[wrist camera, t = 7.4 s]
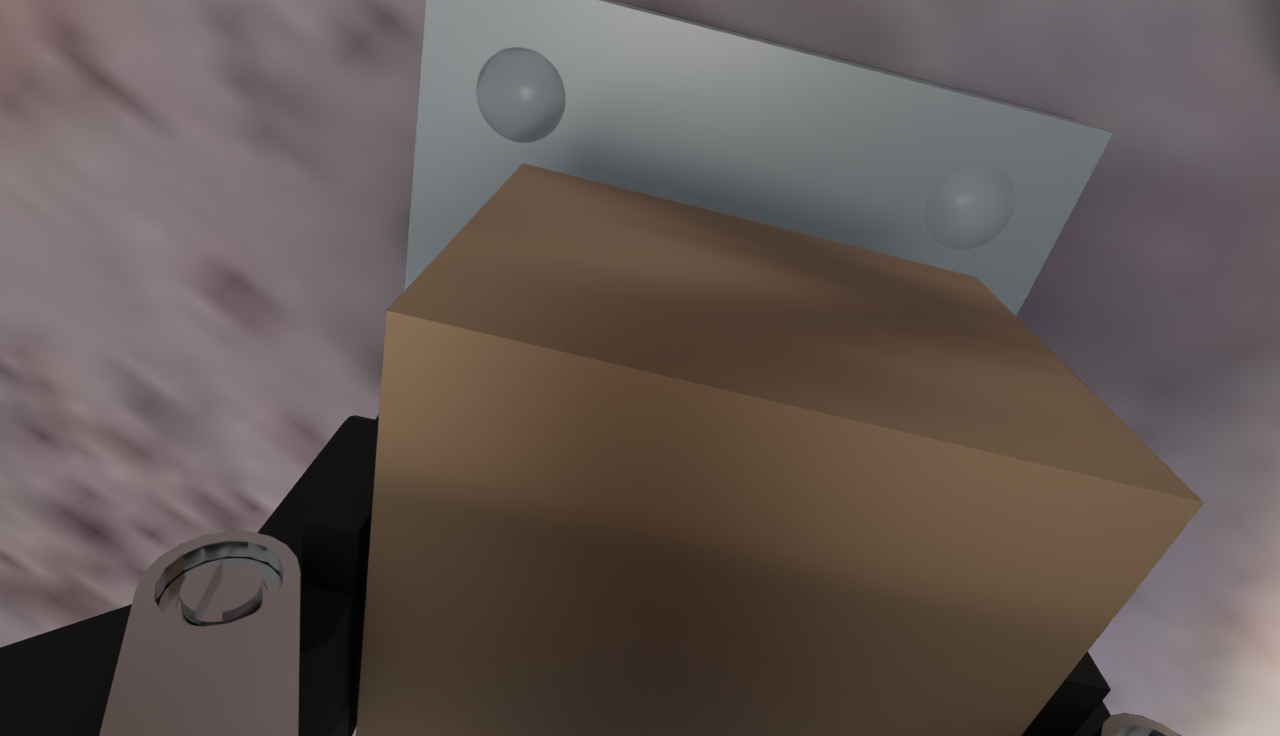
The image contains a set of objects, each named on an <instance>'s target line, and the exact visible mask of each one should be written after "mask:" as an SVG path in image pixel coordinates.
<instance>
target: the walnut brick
mask: <svg viewBox="0 0 1280 736" xmlns="http://www.w3.org/2000/svg"><path fill="white" fill-rule="evenodd" d="M1203 503H1204V502H1203V501H1202V500H1201V499H1200V498H1199V497H1198V496H1197V495H1196V494H1195V493H1194V492H1193V491H1191V490H1190V489H1189V488H1188V487H1187V486H1186V485H1185V484H1184V483H1183V482H1182V481H1181V480H1180V479H1179V478H1178V477H1177V476H1176V475H1175V474H1174V473H1173V472H1172V471H1171V470H1170V469H1169V468H1168V467H1167V466H1166V465H1165V464H1164V463H1163V462H1162V461H1161V460H1160V459H1159V458H1158V457H1157V456H1156V455H1155V454H1154V453H1153V452H1152V451H1151V450H1150V449H1149V448H1148V447H1147V446H1146V445H1145V444H1144V443H1143V442H1142V441H1141V440H1140V439H1139V438H1138V437H1137V436H1136V435H1135V434H1134V433H1133V432H1132V431H1131V430H1130V429H1129V428H1128V427H1127V426H1126V425H1125V424H1124V423H1123V422H1122V421H1121V420H1120V419H1119V418H1118V417H1117V416H1116V415H1115V414H1114V413H1113V412H1112V411H1111V410H1110V409H1109V408H1108V407H1107V406H1106V405H1105V404H1104V403H1103V402H1102V401H1101V400H1100V399H1099V398H1098V397H1097V396H1096V395H1095V394H1094V393H1093V392H1092V391H1091V390H1090V389H1089V388H1088V387H1087V386H1086V385H1085V384H1083V383H1082V382H1081V381H1080V380H1079V379H1078V378H1077V377H1076V376H1075V375H1074V374H1073V373H1072V372H1071V371H1070V370H1069V369H1068V368H1067V367H1066V366H1065V365H1064V364H1063V363H1062V362H1061V361H1060V360H1059V359H1058V358H1057V357H1056V356H1055V355H1054V354H1053V353H1052V352H1051V351H1050V350H1049V349H1048V348H1047V347H1046V346H1045V345H1044V344H1043V343H1042V342H1041V341H1040V340H1039V339H1038V338H1037V337H1036V336H1035V335H1034V334H1033V333H1032V332H1031V331H1030V330H1029V329H1028V328H1027V327H1026V326H1025V325H1024V324H1023V323H1022V322H1021V321H1020V320H1019V319H1018V318H1017V317H1016V316H1015V315H1014V314H1013V313H1012V312H1011V311H1010V310H1009V309H1008V308H1007V307H1006V306H1005V305H1004V304H1003V303H1002V302H1001V301H1000V300H999V299H998V298H997V297H996V296H995V295H994V294H993V293H992V292H991V291H990V290H989V289H988V288H987V287H986V286H985V285H984V284H983V283H982V282H981V281H980V280H979V279H978V278H976V277H974V276H970V275H966V274H962V273H958V272H954V271H950V270H946V269H942V268H938V267H934V266H930V265H926V264H922V263H918V262H914V261H910V260H906V259H902V258H898V257H894V256H890V255H886V254H882V253H878V252H874V251H870V250H866V249H862V248H858V247H854V246H850V245H846V244H842V243H838V242H834V241H830V240H826V239H822V238H818V237H814V236H811V235H807V234H803V233H799V232H795V231H791V230H787V229H783V228H779V227H775V226H771V225H767V224H763V223H759V222H755V221H751V220H747V219H743V218H739V217H735V216H731V215H727V214H723V213H719V212H715V211H711V210H707V209H703V208H699V207H695V206H691V205H687V204H683V203H679V202H675V201H671V200H667V199H663V198H659V197H655V196H651V195H647V194H643V193H639V192H635V191H631V190H627V189H623V188H619V187H615V186H611V185H607V184H603V183H599V182H595V181H591V180H587V179H583V178H579V177H575V176H571V175H567V174H563V173H559V172H555V171H551V170H548V169H544V168H540V167H536V166H532V165H528V164H524V163H522V165H521V166H520V167H519V168H518V169H517V170H516V171H515V172H514V173H513V174H512V175H511V176H510V178H509V179H508V180H507V181H506V182H505V183H504V184H503V185H502V186H501V187H500V188H499V189H498V191H497V192H496V193H495V194H494V195H493V196H492V197H491V198H490V199H489V200H488V201H487V202H486V203H485V205H484V206H483V207H482V208H481V209H480V210H479V211H478V212H477V213H476V214H475V215H474V216H473V218H472V219H471V220H470V221H469V222H468V223H467V224H466V225H465V226H464V227H463V228H462V229H461V231H460V232H459V233H458V234H457V235H456V236H455V237H454V238H453V239H452V240H451V241H450V242H449V243H448V245H447V246H446V247H445V248H444V249H443V250H442V251H441V252H440V253H439V254H438V255H437V256H436V258H435V259H434V260H433V261H432V262H431V263H430V264H429V265H428V266H427V267H426V268H425V269H424V271H423V272H422V273H421V274H420V275H419V276H418V277H417V278H416V279H415V280H414V281H413V282H412V283H411V285H410V286H409V287H408V288H407V289H406V290H405V291H404V292H403V293H402V294H401V295H400V296H399V298H398V299H397V300H396V301H395V302H394V303H393V304H392V305H391V306H390V307H389V308H388V309H387V312H386V326H385V340H384V354H383V368H382V382H381V395H380V409H379V423H378V437H377V451H376V465H375V479H374V493H373V506H372V520H371V534H370V548H369V562H368V576H367V590H366V604H365V617H364V631H363V645H362V659H361V673H360V687H359V701H358V715H357V728H356V736H1021V735H1022V734H1023V733H1024V731H1025V730H1026V729H1027V727H1028V726H1029V725H1030V724H1031V722H1032V721H1033V720H1034V718H1035V717H1036V716H1037V715H1038V713H1039V712H1040V711H1041V710H1042V708H1043V707H1044V706H1045V704H1046V703H1047V702H1048V701H1049V699H1050V698H1051V697H1052V696H1053V694H1054V693H1055V692H1056V690H1057V689H1058V688H1059V687H1060V685H1061V684H1062V683H1063V682H1064V680H1065V679H1066V678H1067V676H1068V675H1069V674H1070V673H1071V671H1072V670H1073V669H1074V668H1075V666H1076V665H1077V664H1078V662H1079V661H1080V660H1081V659H1082V657H1083V656H1084V655H1085V653H1086V652H1087V651H1088V650H1089V648H1090V647H1091V646H1092V645H1093V643H1094V642H1095V641H1096V639H1097V638H1098V637H1099V636H1100V634H1101V633H1102V632H1103V631H1104V629H1105V628H1106V627H1107V625H1108V624H1109V623H1110V622H1111V620H1112V619H1113V618H1114V617H1115V615H1116V614H1117V613H1118V611H1119V610H1120V609H1121V608H1122V606H1123V605H1124V604H1125V603H1126V601H1127V600H1128V599H1129V597H1130V596H1131V595H1132V594H1133V592H1134V591H1135V590H1136V588H1137V587H1138V586H1139V585H1140V583H1141V582H1142V581H1143V580H1144V578H1145V577H1146V576H1147V574H1148V573H1149V572H1150V571H1151V569H1152V568H1153V567H1154V566H1155V564H1156V563H1157V562H1158V560H1159V559H1160V558H1161V557H1162V555H1163V554H1164V553H1165V552H1166V550H1167V549H1168V548H1169V546H1170V545H1171V544H1172V543H1173V541H1174V540H1175V539H1176V538H1177V536H1178V535H1179V534H1180V532H1181V531H1182V530H1183V529H1184V527H1185V526H1186V525H1187V523H1188V522H1189V521H1190V520H1191V518H1192V517H1193V516H1194V515H1195V513H1196V512H1197V511H1198V509H1199V508H1200V507H1201V506H1202V504H1203Z"/></svg>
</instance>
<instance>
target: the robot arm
mask: <svg viewBox="0 0 1280 736" xmlns="http://www.w3.org/2000/svg"><path fill="white" fill-rule="evenodd" d="M378 423H379V415H378V417H377V418H376V419H375V420H374V419H369V418H365V417H360V416H355V415H354V416H350V417H349V418H348V419H347V420H346V421H345V422H344V423H343V424H342V425H341V427H340V428H339V429H338V430H337V432H336V433H335V434H334V436H333V437H332V438H331V439H330V441H329V442H328V443H327V445H326V446H325V447H324V448H323V450H322V451H321V452H320V453H319V455H318V456H317V457H316V459H315V460H314V461H313V462H312V464H311V465H310V466H309V468H308V469H307V470H306V471H305V473H304V474H303V475H302V477H301V478H300V479H299V480H298V482H297V483H296V484H295V485H294V487H293V488H292V489H291V491H290V492H289V493H288V494H287V496H286V497H285V498H284V500H283V501H282V502H281V503H280V505H279V506H278V507H277V508H276V510H275V511H274V512H273V514H272V515H271V516H270V517H269V519H268V520H267V521H266V523H265V524H264V525H263V526H262V528H261V529H260V530H259V532H258V533H255V532H248V531H226V532H220V533H215V534H209V535H203V536H201V537H198V538H195V539H193V540H190V541H187V542H184V543H182V544H180V545H178V546H176V547H175V548H173V549H171V550H170V551H168V552H166V553H165V554H163V555H162V556H160V557H159V558H158V559H157V560H156V561H155V562H154V563H153V564H152V565H151V566H150V567H149V568H148V569H147V570H146V571H145V572H144V574H143V576H142V578H141V580H140V582H139V584H138V586H137V588H136V590H135V594H134V598H133V602H132V604H131V605H128V606H125V607H122V608H119V609H116V610H113V611H110V612H107V613H104V614H101V615H98V616H95V617H92V618H89V619H86V620H83V621H80V622H77V623H74V624H71V625H68V626H65V627H62V628H59V629H56V630H53V631H50V632H47V633H43V634H40V635H37V636H34V637H31V638H28V639H25V640H22V641H19V642H16V643H13V644H10V645H7V646H4V647H1V648H0V736H352V735H353V733H354V730H355V728H356V726H357V715H358V701H359V687H360V673H361V659H362V645H363V631H364V617H365V604H366V590H367V576H368V562H369V548H370V534H371V520H372V506H373V493H374V479H375V465H376V451H377V437H378ZM1110 690H1111V689H1110V688H1109V686H1108V684H1107V683H1106V681H1105V679H1104V678H1103V676H1102V674H1101V673H1100V671H1099V669H1098V668H1097V666H1096V664H1095V663H1094V661H1093V660H1092V658H1091V656H1090V655H1089V653H1088V651H1087V652H1086V653H1085V655H1084V656H1083V657H1082V659H1081V660H1080V661H1079V662H1078V664H1077V665H1076V666H1075V668H1074V669H1073V670H1072V671H1071V673H1070V674H1069V675H1068V676H1067V678H1066V679H1065V680H1064V682H1063V683H1062V684H1061V685H1060V687H1059V688H1058V689H1057V690H1056V692H1055V693H1054V694H1053V696H1052V697H1051V698H1050V699H1049V701H1048V702H1047V703H1046V704H1045V706H1044V707H1043V708H1042V710H1041V711H1040V712H1039V713H1038V715H1037V716H1036V717H1035V718H1034V720H1033V721H1032V722H1031V724H1030V725H1029V726H1028V727H1027V729H1026V730H1025V731H1024V733H1023V734H1022V735H1021V736H1181V735H1179V734H1177V733H1176V732H1174V731H1173V730H1171V729H1169V728H1168V727H1166V726H1164V725H1163V724H1160V723H1158V722H1156V721H1153V720H1151V719H1148V718H1146V717H1143V716H1140V715H1134V714H1128V713H1121V714H1116V715H1110V713H1109V711H1108V710H1107V708H1106V706H1105V704H1104V703H1103V701H1102V700H1103V699H1104V698H1105V697H1106V695H1107V694H1108V693H1109V692H1110Z"/></svg>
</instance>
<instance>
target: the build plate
mask: <svg viewBox="0 0 1280 736" xmlns="http://www.w3.org/2000/svg"><path fill="white" fill-rule="evenodd" d="M1112 135H1113V133H1112V132H1109V131H1106V130H1103V129H1100V128H1097V127H1094V126H1091V125H1088V124H1085V123H1082V122H1079V121H1076V120H1073V119H1070V118H1066V117H1062V116H1058V115H1054V114H1050V113H1047V112H1043V111H1039V110H1035V109H1031V108H1027V107H1023V106H1019V105H1016V104H1012V103H1008V102H1004V101H1000V100H996V99H992V98H988V97H985V96H981V95H977V94H973V93H969V92H965V91H961V90H957V89H954V88H950V87H946V86H942V85H938V84H934V83H930V82H926V81H923V80H919V79H915V78H911V77H907V76H903V75H899V74H895V73H892V72H888V71H884V70H880V69H876V68H872V67H868V66H865V65H861V64H857V63H853V62H849V61H845V60H841V59H837V58H834V57H830V56H826V55H822V54H818V53H814V52H810V51H806V50H803V49H799V48H795V47H791V46H787V45H783V44H779V43H775V42H772V41H768V40H764V39H760V38H756V37H752V36H748V35H744V34H741V33H737V32H733V31H729V30H725V29H721V28H717V27H713V26H710V25H706V24H702V23H698V22H694V21H690V20H686V19H682V18H679V17H675V16H671V15H667V14H663V13H659V12H655V11H651V10H648V9H644V8H640V7H636V6H632V5H628V4H624V3H620V2H617V1H613V0H426V8H425V21H424V35H423V48H422V61H421V75H420V88H419V101H418V115H417V128H416V141H415V155H414V168H413V181H412V194H411V208H410V221H409V234H408V248H407V261H406V274H405V288H404V291H405V290H406V289H407V288H408V287H409V286H410V285H411V283H412V282H413V281H414V280H415V279H416V278H417V277H418V276H419V275H420V274H421V273H422V272H423V271H424V269H425V268H426V267H427V266H428V265H429V264H430V263H431V262H432V261H433V260H434V259H435V258H436V256H437V255H438V254H439V253H440V252H441V251H442V250H443V249H444V248H445V247H446V246H447V245H448V243H449V242H450V241H451V240H452V239H453V238H454V237H455V236H456V235H457V234H458V233H459V232H460V231H461V229H462V228H463V227H464V226H465V225H466V224H467V223H468V222H469V221H470V220H471V219H472V218H473V216H474V215H475V214H476V213H477V212H478V211H479V210H480V209H481V208H482V207H483V206H484V205H485V203H486V202H487V201H488V200H489V199H490V198H491V197H492V196H493V195H494V194H495V193H496V192H497V191H498V189H499V188H500V187H501V186H502V185H503V184H504V183H505V182H506V181H507V180H508V179H509V178H510V176H511V175H512V174H513V173H514V172H515V171H516V170H517V169H518V168H519V167H520V166H521V165H522V163H524V164H528V165H532V166H536V167H540V168H544V169H548V170H551V171H555V172H559V173H563V174H567V175H571V176H575V177H579V178H583V179H587V180H591V181H595V182H599V183H603V184H607V185H611V186H615V187H619V188H623V189H627V190H631V191H635V192H639V193H643V194H647V195H651V196H655V197H659V198H663V199H667V200H671V201H675V202H679V203H683V204H687V205H691V206H695V207H699V208H703V209H707V210H711V211H715V212H719V213H723V214H727V215H731V216H735V217H739V218H743V219H747V220H751V221H755V222H759V223H763V224H767V225H771V226H775V227H779V228H783V229H787V230H791V231H795V232H799V233H803V234H807V235H811V236H814V237H818V238H822V239H826V240H830V241H834V242H838V243H842V244H846V245H850V246H854V247H858V248H862V249H866V250H870V251H874V252H878V253H882V254H886V255H890V256H894V257H898V258H902V259H906V260H910V261H914V262H918V263H922V264H926V265H930V266H934V267H938V268H942V269H946V270H950V271H954V272H958V273H962V274H966V275H970V276H974V277H976V278H978V279H979V280H980V281H981V282H982V283H983V284H984V285H985V286H986V287H987V288H988V289H989V290H990V291H991V292H992V293H993V294H994V295H995V296H996V297H997V298H998V299H999V300H1000V301H1001V302H1002V303H1003V304H1004V305H1005V306H1006V307H1007V308H1008V309H1009V310H1010V311H1011V312H1012V313H1013V314H1014V315H1015V316H1016V317H1017V315H1018V313H1019V311H1020V309H1021V307H1022V305H1023V303H1024V301H1025V300H1026V298H1027V296H1028V294H1029V292H1030V290H1031V288H1032V286H1033V284H1034V283H1035V281H1036V279H1037V277H1038V275H1039V273H1040V271H1041V269H1042V267H1043V266H1044V264H1045V262H1046V260H1047V258H1048V256H1049V254H1050V252H1051V250H1052V249H1053V247H1054V245H1055V243H1056V241H1057V239H1058V237H1059V235H1060V233H1061V231H1062V230H1063V228H1064V226H1065V224H1066V222H1067V220H1068V218H1069V216H1070V214H1071V213H1072V211H1073V209H1074V207H1075V205H1076V203H1077V201H1078V199H1079V197H1080V196H1081V194H1082V192H1083V190H1084V188H1085V186H1086V184H1087V182H1088V180H1089V178H1090V177H1091V175H1092V173H1093V171H1094V169H1095V167H1096V165H1097V163H1098V161H1099V160H1100V158H1101V156H1102V154H1103V152H1104V150H1105V148H1106V146H1107V144H1108V143H1109V141H1110V139H1111V137H1112Z"/></svg>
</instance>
